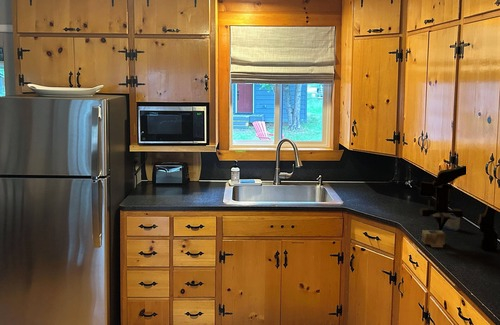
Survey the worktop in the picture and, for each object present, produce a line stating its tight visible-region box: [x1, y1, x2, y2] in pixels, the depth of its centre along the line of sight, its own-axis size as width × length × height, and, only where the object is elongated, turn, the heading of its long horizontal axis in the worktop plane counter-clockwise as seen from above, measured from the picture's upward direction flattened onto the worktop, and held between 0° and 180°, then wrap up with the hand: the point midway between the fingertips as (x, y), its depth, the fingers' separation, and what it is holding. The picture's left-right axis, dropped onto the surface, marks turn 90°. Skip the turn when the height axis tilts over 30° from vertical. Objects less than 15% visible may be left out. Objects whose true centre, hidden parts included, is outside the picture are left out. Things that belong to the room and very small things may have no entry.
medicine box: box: [442, 215, 461, 232], centre depth 289 cm, size 8×4×9 cm, turn 45°
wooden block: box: [421, 229, 446, 246], centre depth 263 cm, size 5×6×9 cm
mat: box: [429, 244, 444, 248], centre depth 264 cm, size 5×10×1 cm, turn 177°
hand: (439, 230), depth 263 cm, fingers closed
